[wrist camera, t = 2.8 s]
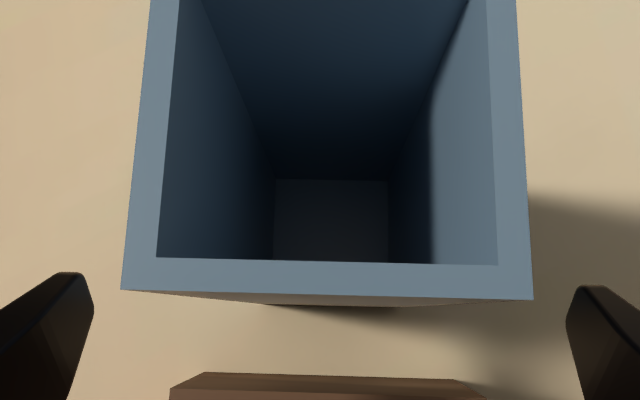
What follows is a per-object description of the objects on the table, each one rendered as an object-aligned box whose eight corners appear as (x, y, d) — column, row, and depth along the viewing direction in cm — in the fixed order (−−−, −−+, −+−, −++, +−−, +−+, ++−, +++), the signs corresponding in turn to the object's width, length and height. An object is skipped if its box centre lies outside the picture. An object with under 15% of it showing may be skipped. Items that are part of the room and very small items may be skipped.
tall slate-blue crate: (397, 307, 19) (533, 300, 6) (261, 303, 19) (120, 290, 6) (396, 175, 20) (512, -65, 7) (267, 172, 20) (157, -67, 7)
